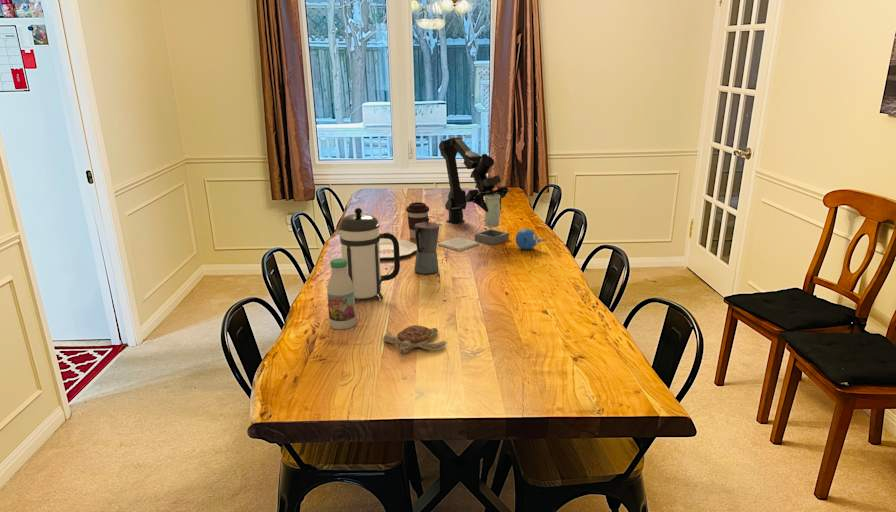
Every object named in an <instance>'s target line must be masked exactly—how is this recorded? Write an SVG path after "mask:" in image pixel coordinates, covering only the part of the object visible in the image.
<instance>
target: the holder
mask: <svg viewBox="0 0 896 512" xmlns="http://www.w3.org/2000/svg"><path fill="white" fill-rule="evenodd" d="M508 240H510V233H509V232H506V231H503V230H498V229H493V228H488V229H485V230H481V231H478V232H476V233H474V241H476V242H480V243H484V244H489V245H493V246H494V245H498V244H501V243H503V242H505V241H508Z"/></svg>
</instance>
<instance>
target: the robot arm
mask: <svg viewBox="0 0 896 512" xmlns="http://www.w3.org/2000/svg"><path fill="white" fill-rule="evenodd" d="M438 149H439V152H440V155H441V156H442V158H444V160H445V164H446V172H447V177H448V183H449V192H448V195H447V201H446V202H445V204H444V207H445V210H446V211H448V219H447V220H446V222H447V223H451V224H456V225H457V224H460V223H463V222H465V220H464V213H463V210H466V208H467V203H472V204H476V206H478V207H480V208H481V209H482V210H483V211H484V212H485V211H486V212H488V209H487V206H486V204H485V195H486V194H499V195H500V211H501V210H502V199H504V198H505V197H506V196H507V194H508V192H510V191H509V188H508V186H506V185H504V186H498V184H500V183H501V181H502V180H501V178H500V176H499V175H494V176H492V177H488V175H487V174H489V172H490V171H491V170H492V167H494V164H495V160H494V159H493V158H492V157H491V156H490V155H488V154H487V153H482V155H480V154H479V153H478V152H475V151H473V150H472V149H470V147H469V146H468V145H467V144H466V143H465V141H464V140H463V138H462V137H461V136H452V137H450V138H448V139H445V140H440V142H439V144H438ZM458 154H459V155H460V156H461V157H462V158H463V165H464V166H465V167H466V169H467V170H471V174H470V178H473V181H474V183H475V186H474V187H475V189H469V190H468V192H467V193H466V191H465V190H463V189H462V188H461V183H460V177H459V171H458V164H457V160H456V159H457V158H456V157H457V155H458ZM495 186H498V187H497V189H496V190H494V189H495Z"/></svg>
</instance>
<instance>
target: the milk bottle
mask: <svg viewBox="0 0 896 512" xmlns="http://www.w3.org/2000/svg"><path fill="white" fill-rule="evenodd" d="M346 268H347V261H346V259H342V257H339V258H334V259H331V260H330V269H331V274H330V277H329V279H328V282H327V289H326V290H327V292H326V293H327V307H328V309H327V310H328V318H329V319H328V320H329V322H328V323H329V326H330V327H331V328H332V329H335V330H348V329H351V328H353V327H355V325H356V324H357V311H356V300H355V296H354V287H353V283H352V281H351V279H350V277H349V275H348V273H347V269H346Z"/></svg>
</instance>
